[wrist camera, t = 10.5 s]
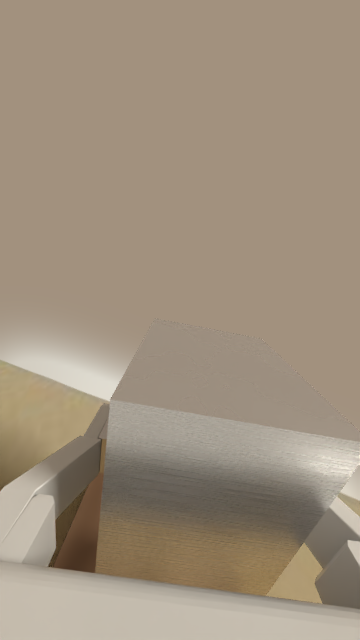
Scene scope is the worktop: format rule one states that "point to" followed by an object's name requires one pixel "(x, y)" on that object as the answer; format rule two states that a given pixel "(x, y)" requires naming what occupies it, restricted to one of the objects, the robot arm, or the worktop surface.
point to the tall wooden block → (216, 462)
